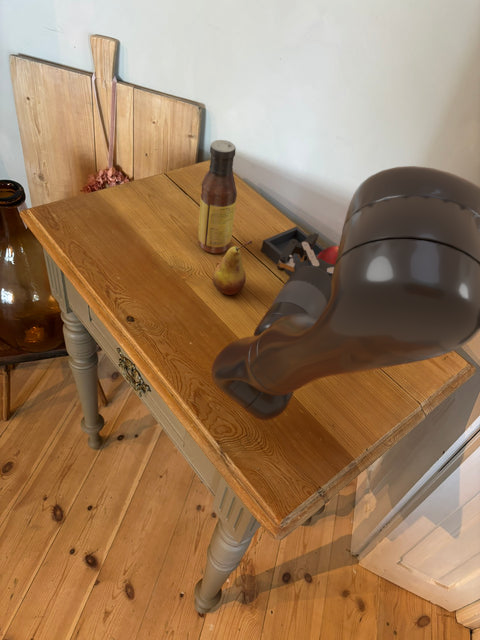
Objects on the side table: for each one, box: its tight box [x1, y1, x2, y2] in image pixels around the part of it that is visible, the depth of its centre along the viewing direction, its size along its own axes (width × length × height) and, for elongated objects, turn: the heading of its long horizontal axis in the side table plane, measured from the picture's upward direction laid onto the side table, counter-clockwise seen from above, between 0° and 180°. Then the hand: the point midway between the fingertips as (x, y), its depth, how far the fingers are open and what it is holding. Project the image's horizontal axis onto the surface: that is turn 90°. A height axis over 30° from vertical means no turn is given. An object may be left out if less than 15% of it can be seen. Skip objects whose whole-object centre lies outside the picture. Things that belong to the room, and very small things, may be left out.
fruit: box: [212, 240, 253, 296], centre depth 76 cm, size 6×6×12 cm
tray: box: [260, 226, 326, 277], centre depth 86 cm, size 9×17×3 cm, turn 40°
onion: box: [317, 244, 340, 265], centre depth 82 cm, size 6×6×8 cm
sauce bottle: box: [197, 139, 238, 255], centre depth 80 cm, size 6×6×20 cm
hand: (338, 247), depth 79 cm, fingers open, 8 cm apart
